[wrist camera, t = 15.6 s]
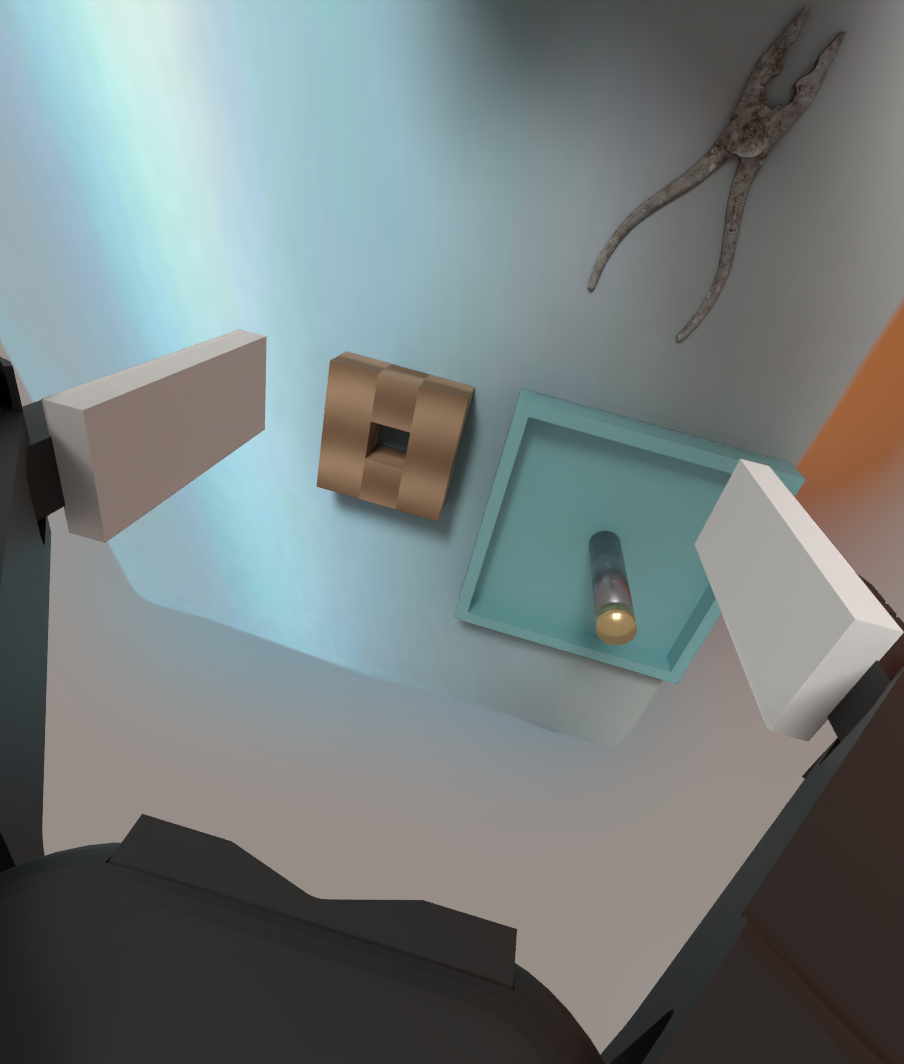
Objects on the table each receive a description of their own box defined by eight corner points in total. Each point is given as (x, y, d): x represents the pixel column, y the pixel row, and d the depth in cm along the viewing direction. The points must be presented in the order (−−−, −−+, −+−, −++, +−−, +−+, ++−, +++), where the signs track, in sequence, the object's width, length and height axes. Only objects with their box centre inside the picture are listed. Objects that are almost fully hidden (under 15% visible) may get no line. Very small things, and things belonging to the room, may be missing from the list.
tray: (521, 388, 48) (518, 399, 44) (790, 463, 47) (805, 479, 44) (459, 598, 60) (453, 618, 57) (671, 660, 59) (677, 684, 56)
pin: (595, 527, 52) (604, 609, 40) (625, 535, 52) (643, 620, 40) (584, 552, 53) (590, 638, 42) (613, 561, 53) (628, 649, 42)
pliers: (578, 310, 43) (701, -26, 33) (578, 309, 44) (698, -20, 34) (694, 347, 43) (854, 21, 33) (692, 345, 44) (848, 25, 34)
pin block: (346, 351, 49) (329, 360, 45) (474, 387, 48) (468, 399, 45) (332, 470, 55) (316, 486, 51) (445, 502, 54) (438, 521, 51)
